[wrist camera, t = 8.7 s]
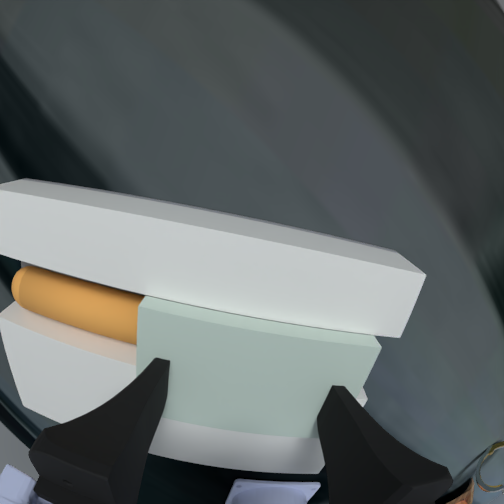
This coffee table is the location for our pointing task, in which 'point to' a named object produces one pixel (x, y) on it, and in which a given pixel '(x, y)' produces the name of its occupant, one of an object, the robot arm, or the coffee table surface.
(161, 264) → the board
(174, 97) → the coffee table surface
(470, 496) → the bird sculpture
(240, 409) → the cover
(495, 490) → the ring
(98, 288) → the orange rounded rod
